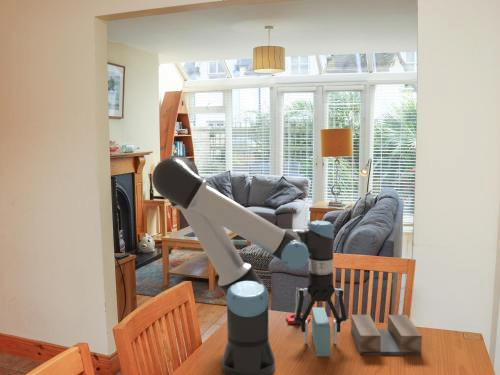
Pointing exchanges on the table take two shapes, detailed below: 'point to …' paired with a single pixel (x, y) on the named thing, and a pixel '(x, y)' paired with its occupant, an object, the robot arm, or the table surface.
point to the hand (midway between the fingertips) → (320, 341)
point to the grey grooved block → (386, 336)
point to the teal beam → (320, 331)
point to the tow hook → (288, 317)
